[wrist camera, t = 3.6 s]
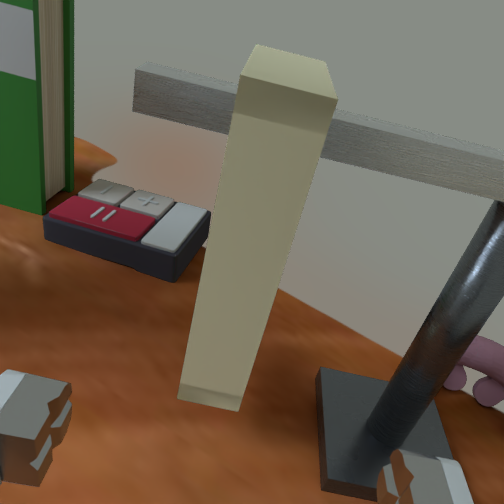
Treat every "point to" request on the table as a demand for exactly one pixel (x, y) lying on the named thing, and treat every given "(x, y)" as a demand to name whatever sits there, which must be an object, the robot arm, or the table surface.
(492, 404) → the video game controller
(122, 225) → the calculator
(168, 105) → the hook stand
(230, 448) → the table surface
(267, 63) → the c-shaped bracket
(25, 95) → the hardback book
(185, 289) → the table surface
